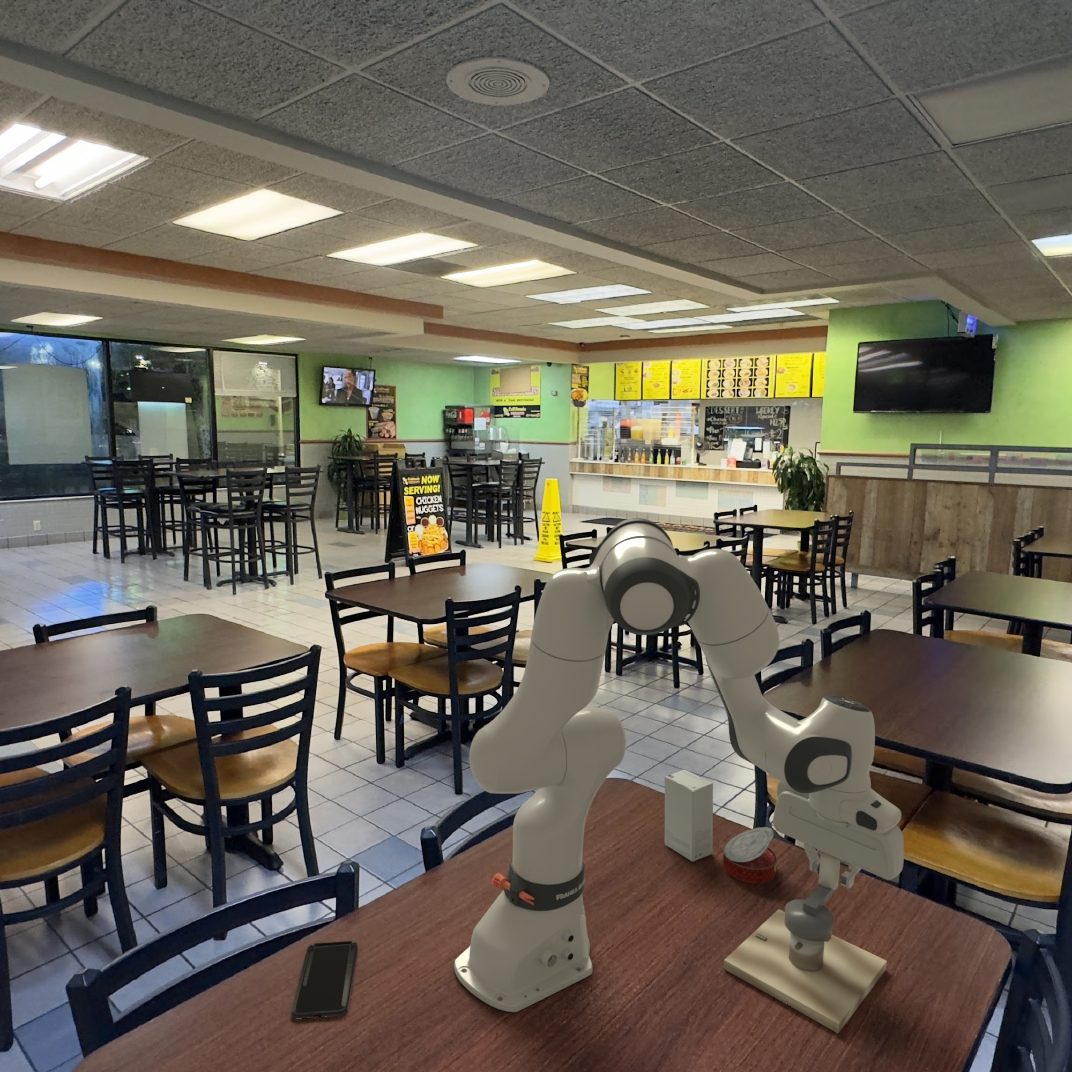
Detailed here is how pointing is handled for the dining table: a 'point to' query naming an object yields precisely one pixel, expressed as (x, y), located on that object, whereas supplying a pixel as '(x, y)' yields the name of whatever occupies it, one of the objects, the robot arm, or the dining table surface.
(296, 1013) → the phone
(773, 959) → the mount board
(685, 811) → the skincare box
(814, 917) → the white knob lever
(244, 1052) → the dining table surface
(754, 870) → the canned food
